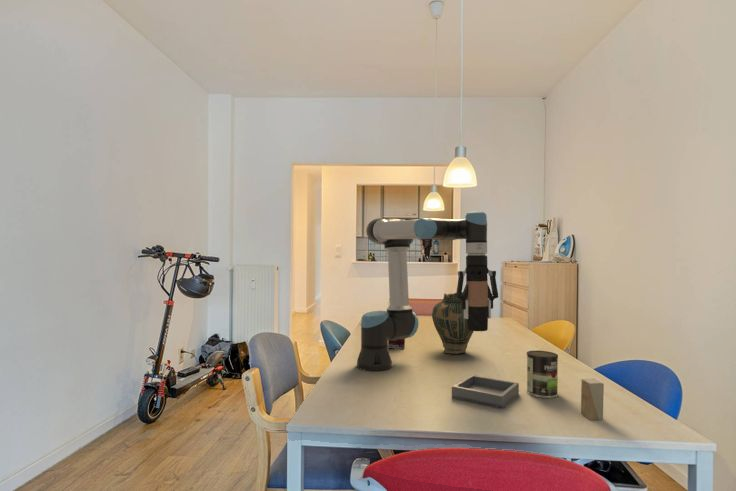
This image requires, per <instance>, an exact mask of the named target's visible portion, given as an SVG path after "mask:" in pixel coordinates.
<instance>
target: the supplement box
mask: <svg viewBox="0 0 736 491" xmlns="http://www.w3.org/2000/svg"><path fill="white" fill-rule="evenodd" d="M405 343H406V339H396V340H388V348H395V350H405V348H406V347H405V346H406V344H405Z"/></svg>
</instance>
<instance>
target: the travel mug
mask: <svg viewBox="0 0 736 491" xmlns="http://www.w3.org/2000/svg"><path fill="white" fill-rule="evenodd" d="M465 281H466V282H465V283H466V284H465V286H466V285H468V295H467V298H466V300H468V319H467V329H468V330H470V331H474V332H487V331H488V330H489V328H488V327H489V318H488V300H489V299H488V286H489V284H488V282H489V280H488V274H480V275H475V274H466V273H465Z"/></svg>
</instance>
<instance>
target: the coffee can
mask: <svg viewBox="0 0 736 491" xmlns="http://www.w3.org/2000/svg"><path fill="white" fill-rule="evenodd" d="M558 359H559V355H558V354H557V353H555V352H552V351H546V350H528V351H526V392H527V394H529V395H530V396H532V397H537V398H543V399H554V398H557V397H558V394H559V393H558V387H559V386H558V378H559V377H558V372H559V371H558V369H559V368H558V361H559V360H558Z"/></svg>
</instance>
